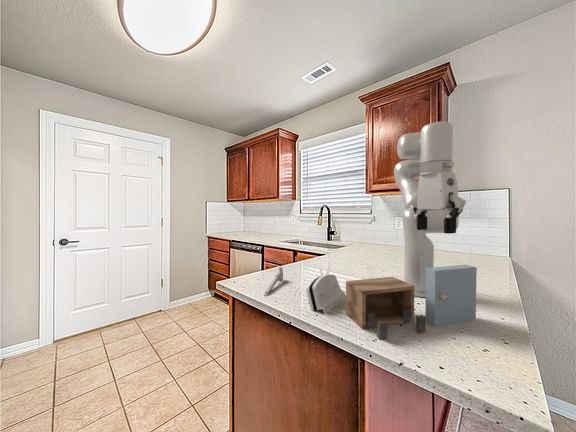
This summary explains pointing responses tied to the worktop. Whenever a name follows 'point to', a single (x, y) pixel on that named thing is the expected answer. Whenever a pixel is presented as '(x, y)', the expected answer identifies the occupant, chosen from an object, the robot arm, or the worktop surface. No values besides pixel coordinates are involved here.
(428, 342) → the worktop surface
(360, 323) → the cabinet
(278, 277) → the caliper
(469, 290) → the door
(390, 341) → the worktop surface
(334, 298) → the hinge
